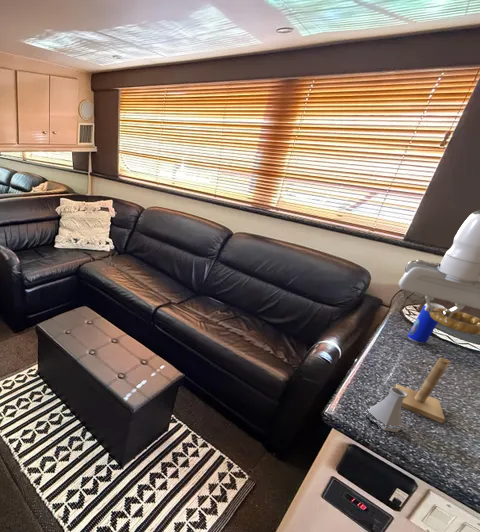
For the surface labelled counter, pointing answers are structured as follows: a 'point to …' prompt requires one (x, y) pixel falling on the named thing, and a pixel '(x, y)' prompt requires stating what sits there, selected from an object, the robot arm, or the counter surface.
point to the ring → (473, 322)
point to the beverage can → (423, 326)
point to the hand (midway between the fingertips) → (437, 313)
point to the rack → (426, 394)
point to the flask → (389, 409)
